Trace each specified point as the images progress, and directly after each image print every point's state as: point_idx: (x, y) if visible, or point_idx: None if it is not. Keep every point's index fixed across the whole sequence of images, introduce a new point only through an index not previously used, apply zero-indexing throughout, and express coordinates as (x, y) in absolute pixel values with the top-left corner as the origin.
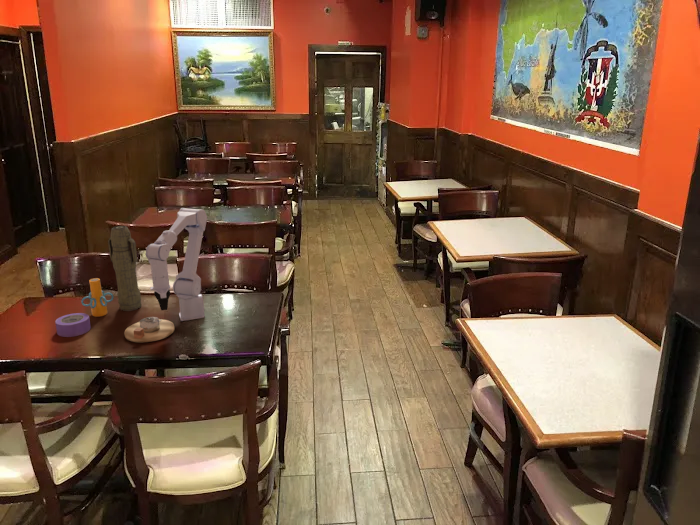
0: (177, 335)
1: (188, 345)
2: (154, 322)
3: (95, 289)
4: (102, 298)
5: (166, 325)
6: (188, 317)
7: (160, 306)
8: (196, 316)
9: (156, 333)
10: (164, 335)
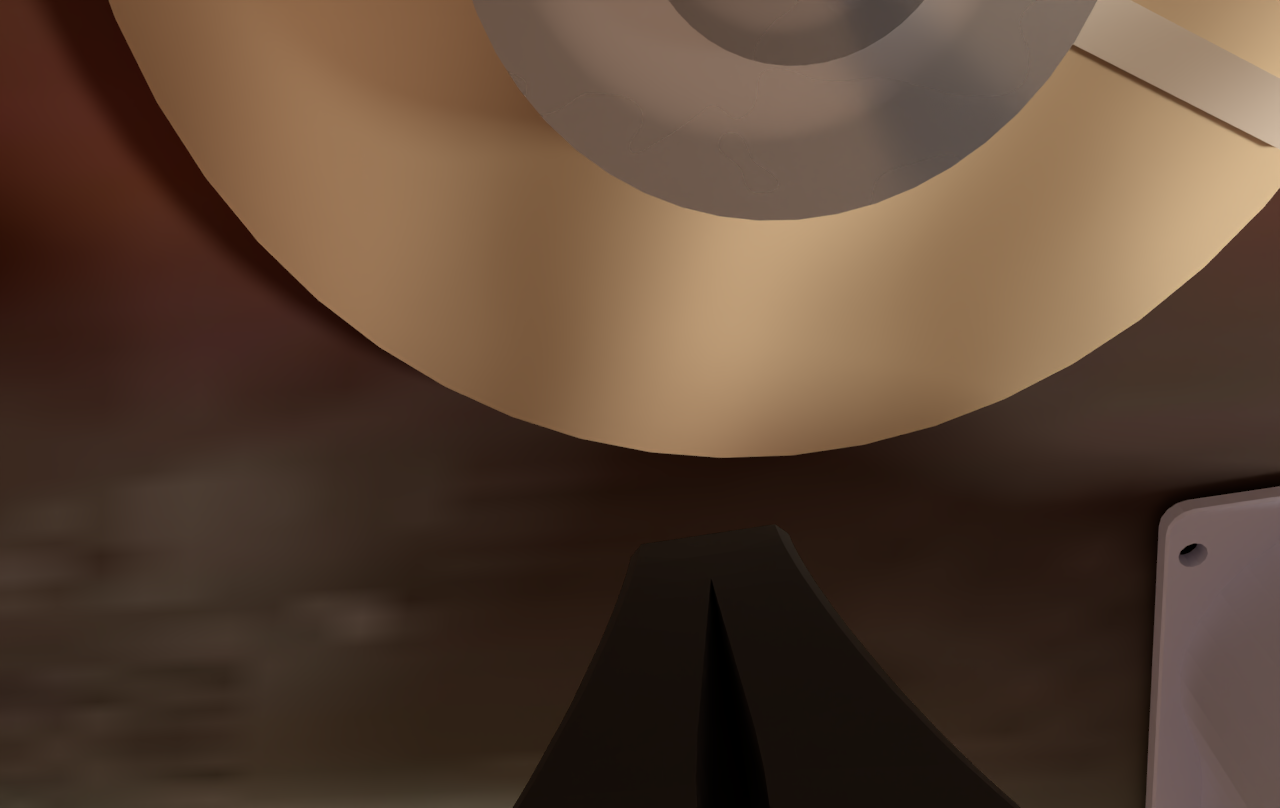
0: (471, 479)
1: (9, 675)
2: (581, 98)
3: None
4: None
5: (868, 286)
6: (1200, 659)
7: (600, 661)
8: (1203, 768)
9: (413, 88)
10: (310, 284)
